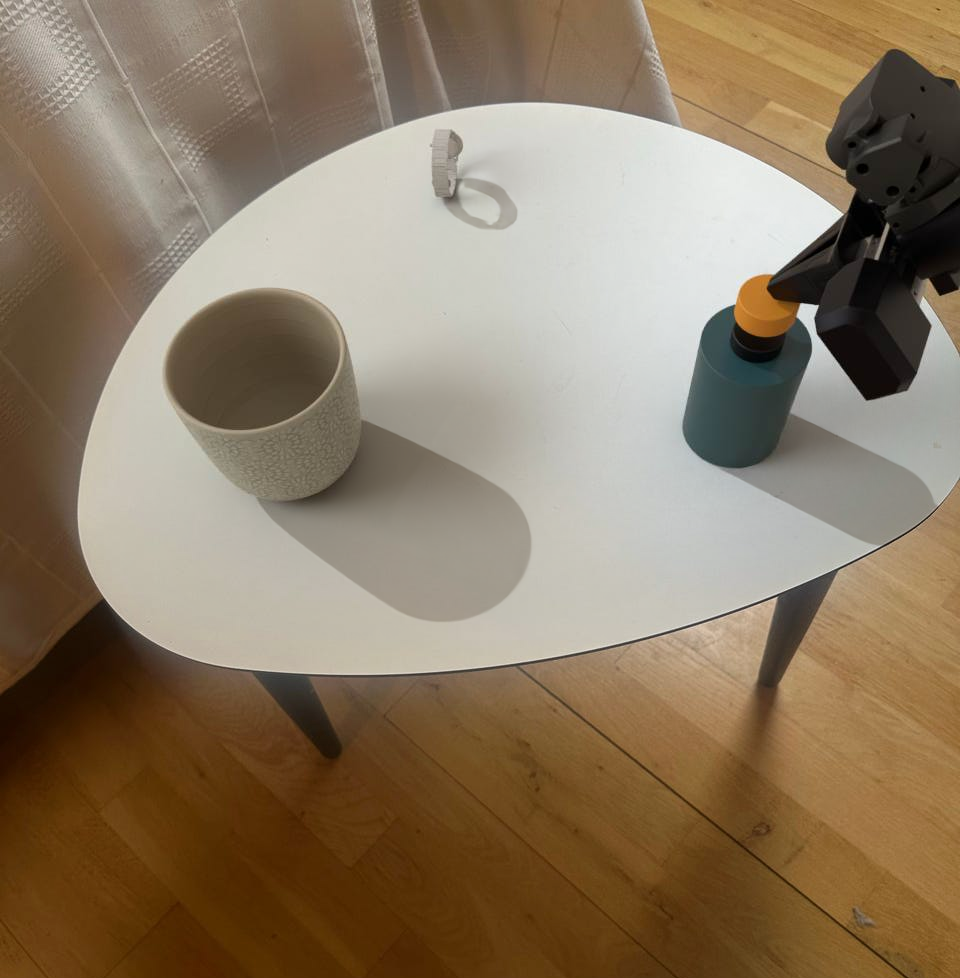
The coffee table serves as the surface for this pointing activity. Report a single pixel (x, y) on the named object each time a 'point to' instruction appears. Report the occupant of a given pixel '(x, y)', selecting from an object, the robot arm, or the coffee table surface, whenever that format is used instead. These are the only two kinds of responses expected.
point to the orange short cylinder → (763, 309)
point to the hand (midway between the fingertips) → (771, 289)
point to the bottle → (742, 390)
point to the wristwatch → (445, 161)
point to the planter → (267, 391)
